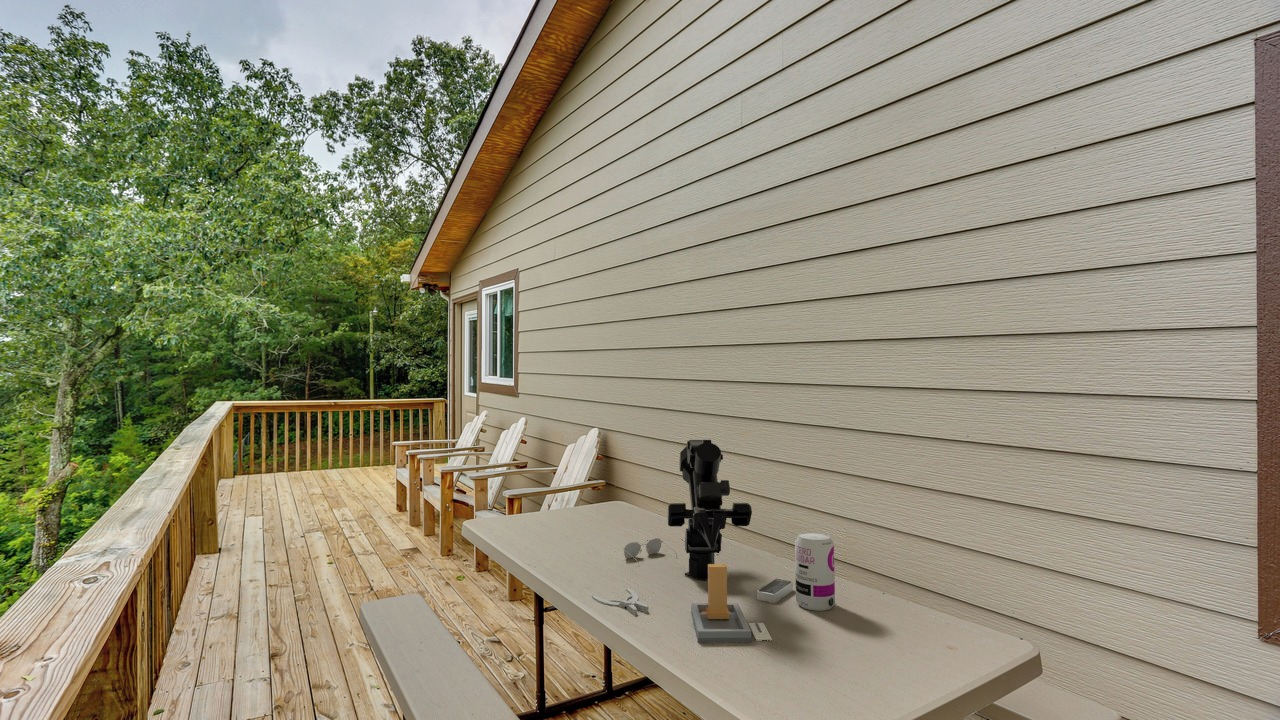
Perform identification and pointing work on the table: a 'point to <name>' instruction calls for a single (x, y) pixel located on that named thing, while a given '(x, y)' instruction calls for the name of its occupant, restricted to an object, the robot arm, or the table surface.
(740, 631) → the switch housing
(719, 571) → the orange tall block
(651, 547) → the sunglasses
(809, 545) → the supplement can
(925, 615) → the table surface
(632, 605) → the pliers
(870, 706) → the table surface
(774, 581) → the multiport hub
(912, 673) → the table surface
